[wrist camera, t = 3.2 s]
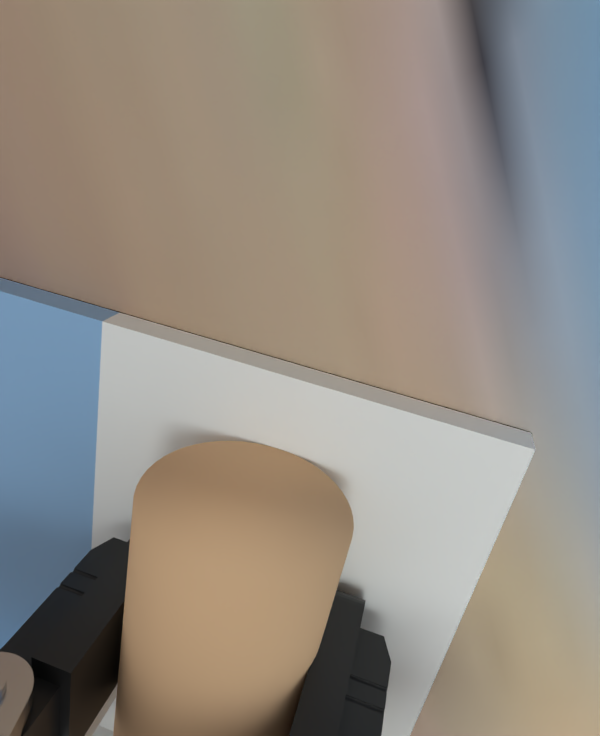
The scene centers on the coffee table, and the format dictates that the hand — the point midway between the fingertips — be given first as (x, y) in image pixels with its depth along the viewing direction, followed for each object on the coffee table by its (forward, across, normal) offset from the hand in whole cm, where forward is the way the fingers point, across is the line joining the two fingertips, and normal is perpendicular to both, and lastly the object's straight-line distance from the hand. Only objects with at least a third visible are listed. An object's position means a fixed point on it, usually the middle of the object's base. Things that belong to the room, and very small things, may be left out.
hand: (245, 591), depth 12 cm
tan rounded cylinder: (0, 0, +2) cm, 2 cm away
